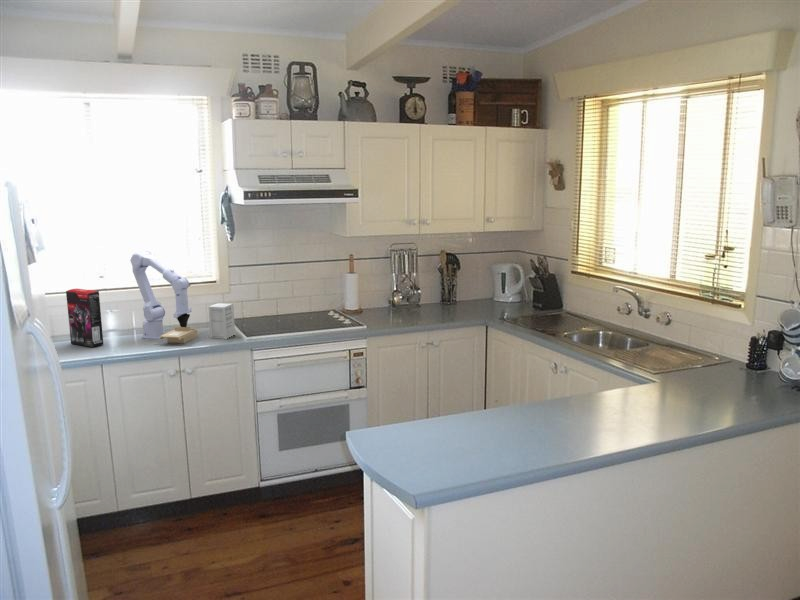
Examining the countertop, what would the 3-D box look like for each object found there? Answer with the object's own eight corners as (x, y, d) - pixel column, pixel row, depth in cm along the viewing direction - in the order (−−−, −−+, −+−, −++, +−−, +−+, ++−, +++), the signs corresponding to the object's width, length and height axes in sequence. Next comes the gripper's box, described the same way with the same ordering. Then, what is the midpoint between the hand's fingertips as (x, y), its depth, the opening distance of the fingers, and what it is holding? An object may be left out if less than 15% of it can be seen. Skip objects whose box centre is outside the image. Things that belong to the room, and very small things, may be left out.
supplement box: (235, 335, 346) (234, 303, 343) (226, 339, 337) (224, 307, 334) (219, 334, 348) (217, 302, 345) (209, 338, 340) (207, 306, 336)
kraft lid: (159, 339, 325) (159, 332, 324) (174, 332, 338) (174, 326, 338) (179, 339, 323) (179, 333, 322) (193, 333, 336) (193, 326, 336)
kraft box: (167, 342, 330) (166, 334, 329) (181, 335, 344) (181, 328, 343) (184, 343, 329) (183, 335, 328) (197, 336, 342) (197, 328, 341)
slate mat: (153, 345, 326) (153, 344, 326) (176, 334, 348) (176, 334, 347) (189, 347, 323) (189, 346, 323) (210, 336, 344) (210, 335, 344)
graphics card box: (69, 344, 330) (64, 290, 325) (82, 341, 336) (76, 287, 331) (92, 348, 322) (87, 292, 317) (105, 344, 328) (100, 290, 323)
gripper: (182, 305, 326) (183, 332, 329) (196, 299, 340) (197, 325, 343) (168, 305, 328) (170, 331, 330) (183, 299, 342) (185, 325, 344)
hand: (183, 328), depth 337 cm, fingers closed
